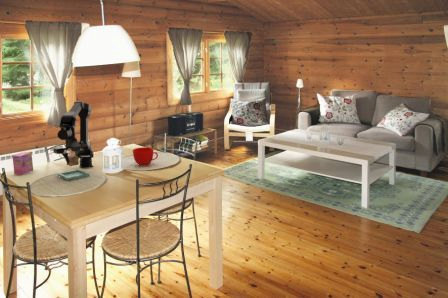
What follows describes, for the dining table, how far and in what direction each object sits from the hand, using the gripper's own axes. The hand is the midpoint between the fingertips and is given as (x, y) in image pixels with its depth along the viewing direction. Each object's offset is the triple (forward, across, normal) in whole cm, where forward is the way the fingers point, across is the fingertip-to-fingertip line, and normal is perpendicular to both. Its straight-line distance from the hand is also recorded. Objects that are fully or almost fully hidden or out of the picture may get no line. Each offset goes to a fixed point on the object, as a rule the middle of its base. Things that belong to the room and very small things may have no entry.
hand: (72, 162), depth 245 cm
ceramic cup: (+8, +45, -8) cm, 46 cm away
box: (+8, -18, +29) cm, 35 cm away
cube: (+1, 0, 0) cm, 1 cm away
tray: (+8, 0, 0) cm, 8 cm away
